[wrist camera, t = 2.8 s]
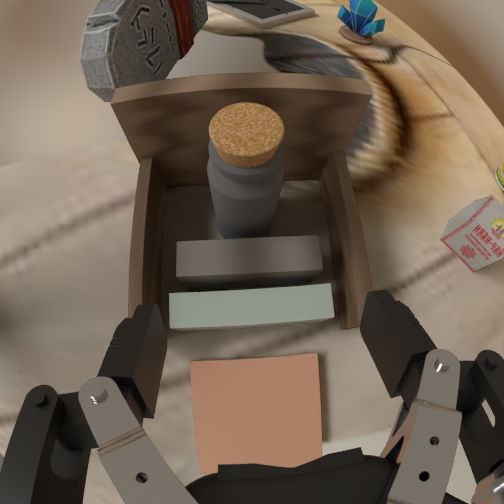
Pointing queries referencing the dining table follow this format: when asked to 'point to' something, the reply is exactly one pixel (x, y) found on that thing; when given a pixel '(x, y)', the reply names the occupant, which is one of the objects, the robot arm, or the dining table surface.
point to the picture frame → (262, 11)
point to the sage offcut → (250, 307)
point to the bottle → (245, 169)
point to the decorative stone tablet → (137, 41)
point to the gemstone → (360, 21)
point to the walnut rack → (197, 156)
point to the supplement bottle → (500, 176)
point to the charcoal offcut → (248, 262)
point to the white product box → (477, 233)
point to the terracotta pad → (257, 411)
